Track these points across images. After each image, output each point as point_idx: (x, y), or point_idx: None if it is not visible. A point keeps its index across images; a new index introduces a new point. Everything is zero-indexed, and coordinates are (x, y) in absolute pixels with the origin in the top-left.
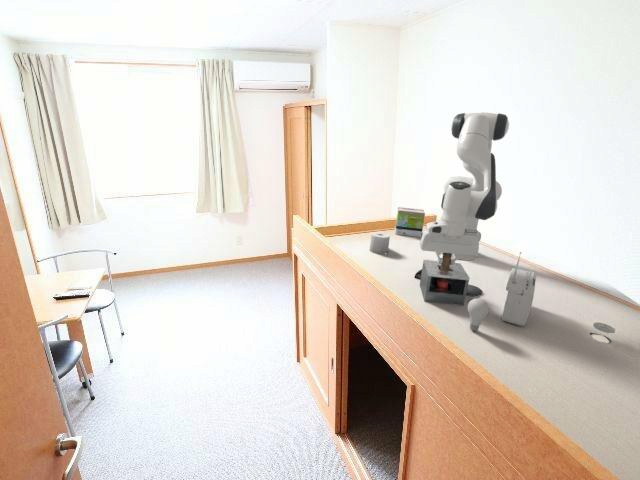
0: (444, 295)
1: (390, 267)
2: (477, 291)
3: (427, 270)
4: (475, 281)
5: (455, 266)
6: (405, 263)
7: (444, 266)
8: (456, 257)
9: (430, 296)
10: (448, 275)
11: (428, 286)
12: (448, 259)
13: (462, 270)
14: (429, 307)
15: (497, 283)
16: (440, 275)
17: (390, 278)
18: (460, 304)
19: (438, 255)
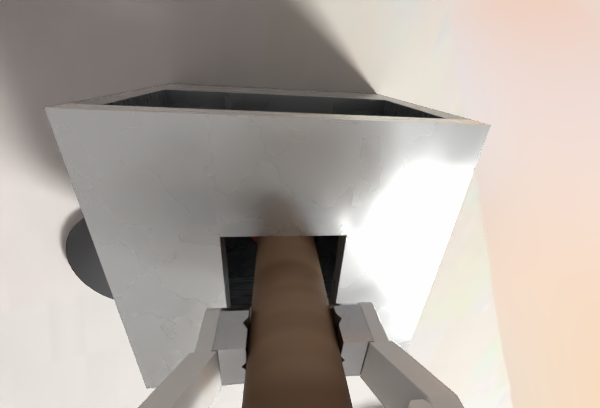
0: (285, 93)
1: (414, 352)
2: (90, 249)
3: (456, 206)
4: (104, 338)
5: (190, 335)
6: (351, 388)
7: (306, 277)
8: (171, 405)
9: (360, 96)
10: (295, 119)
11: (408, 104)
12: (285, 350)
13: (132, 279)
14: (371, 16)
15: (6, 346)
16: (374, 120)
17: (449, 278)
18: (188, 85)
19: (428, 387)
